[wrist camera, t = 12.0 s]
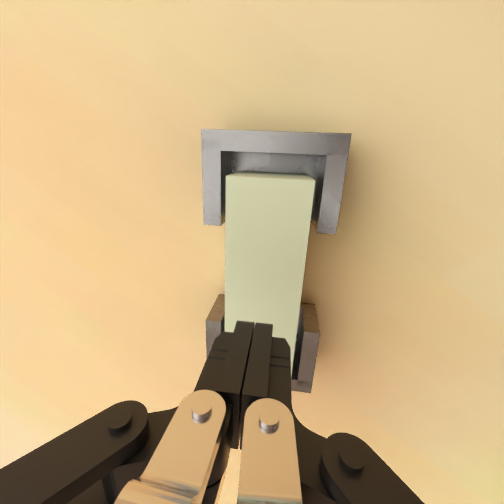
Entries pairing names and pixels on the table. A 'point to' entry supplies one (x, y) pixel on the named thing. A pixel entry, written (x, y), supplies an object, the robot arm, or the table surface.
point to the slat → (266, 249)
